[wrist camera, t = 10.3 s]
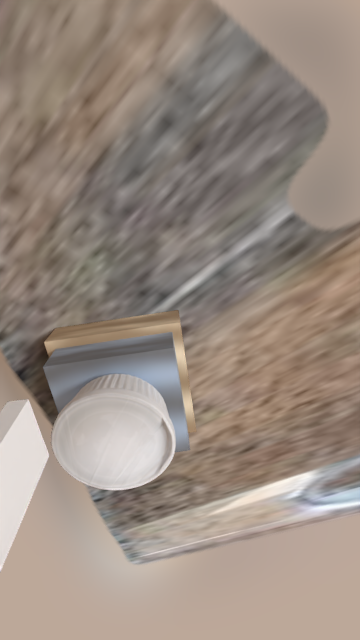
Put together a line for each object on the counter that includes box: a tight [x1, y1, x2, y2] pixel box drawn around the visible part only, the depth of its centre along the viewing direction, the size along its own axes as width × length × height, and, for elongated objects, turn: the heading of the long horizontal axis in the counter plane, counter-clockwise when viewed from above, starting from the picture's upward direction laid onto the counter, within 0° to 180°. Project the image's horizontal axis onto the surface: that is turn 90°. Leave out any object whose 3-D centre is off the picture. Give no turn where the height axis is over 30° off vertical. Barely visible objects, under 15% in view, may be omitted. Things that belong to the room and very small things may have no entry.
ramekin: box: [51, 374, 176, 490], centre depth 31 cm, size 11×11×5 cm
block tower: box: [43, 310, 196, 452], centre depth 37 cm, size 15×15×8 cm
